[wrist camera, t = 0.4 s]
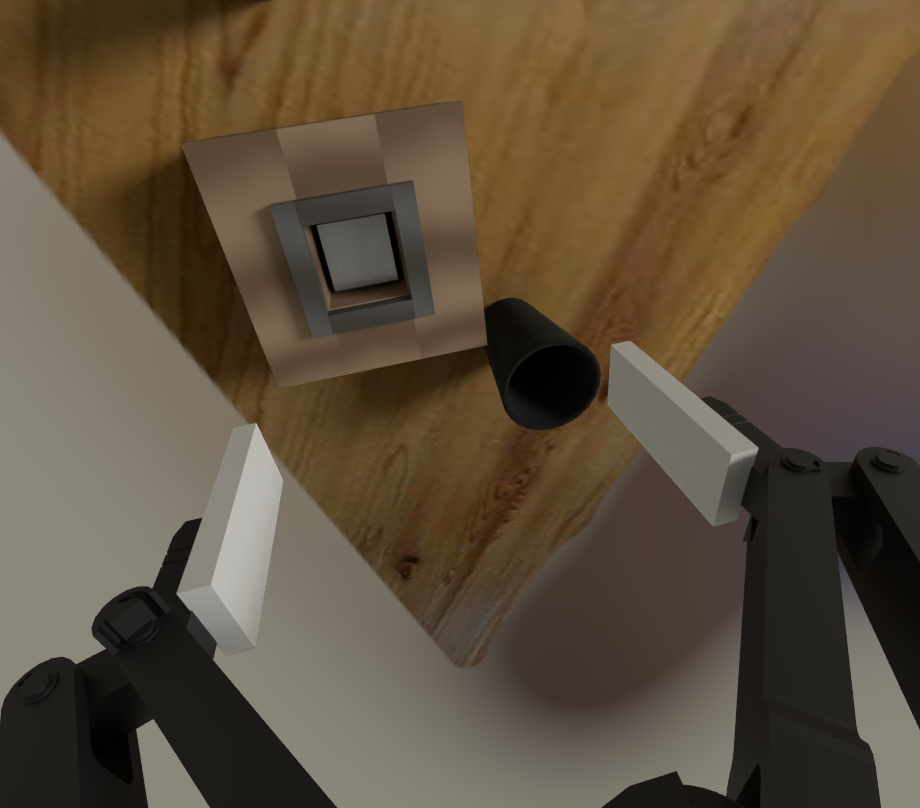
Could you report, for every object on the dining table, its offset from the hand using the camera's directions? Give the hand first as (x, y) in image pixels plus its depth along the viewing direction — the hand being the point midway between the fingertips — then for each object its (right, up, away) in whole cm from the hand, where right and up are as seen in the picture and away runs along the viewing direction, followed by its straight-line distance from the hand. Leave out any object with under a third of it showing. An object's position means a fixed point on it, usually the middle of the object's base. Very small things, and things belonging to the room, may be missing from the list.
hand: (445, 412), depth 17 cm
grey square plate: (-7, +11, +16) cm, 21 cm away
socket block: (-8, +14, +20) cm, 26 cm away
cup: (+5, +8, +27) cm, 29 cm away
